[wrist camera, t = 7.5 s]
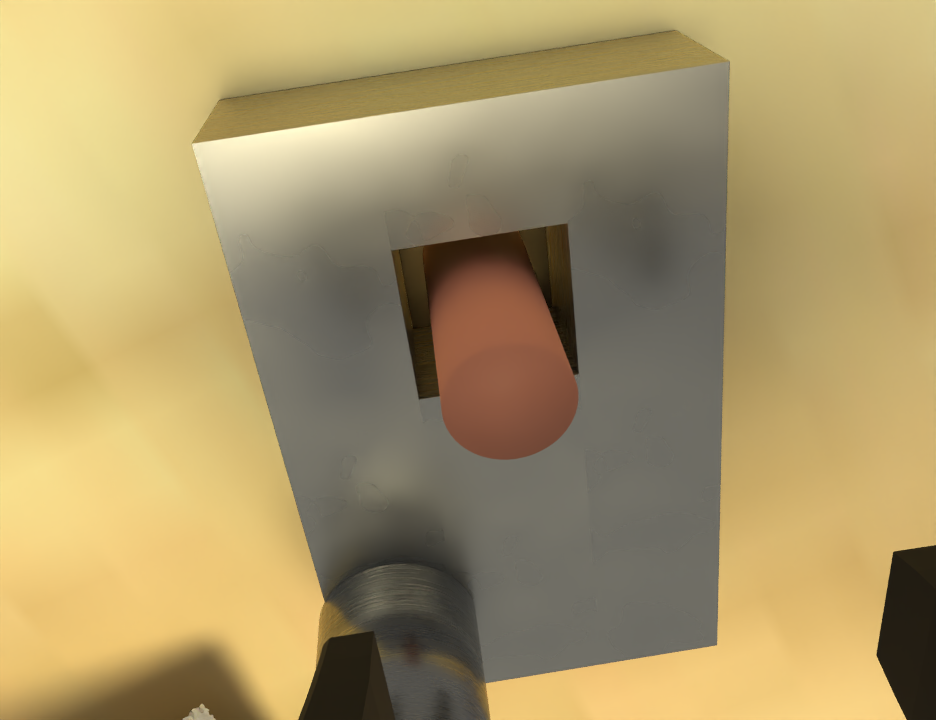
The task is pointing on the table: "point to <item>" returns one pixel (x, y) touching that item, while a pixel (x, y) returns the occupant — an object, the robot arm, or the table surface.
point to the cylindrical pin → (496, 348)
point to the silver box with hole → (414, 367)
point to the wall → (199, 714)
